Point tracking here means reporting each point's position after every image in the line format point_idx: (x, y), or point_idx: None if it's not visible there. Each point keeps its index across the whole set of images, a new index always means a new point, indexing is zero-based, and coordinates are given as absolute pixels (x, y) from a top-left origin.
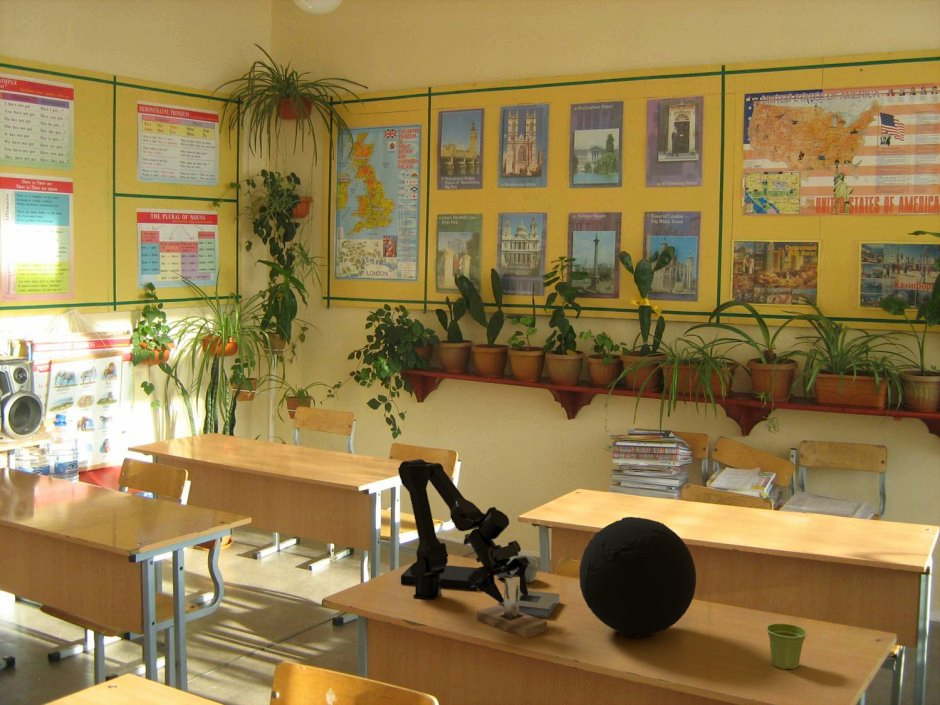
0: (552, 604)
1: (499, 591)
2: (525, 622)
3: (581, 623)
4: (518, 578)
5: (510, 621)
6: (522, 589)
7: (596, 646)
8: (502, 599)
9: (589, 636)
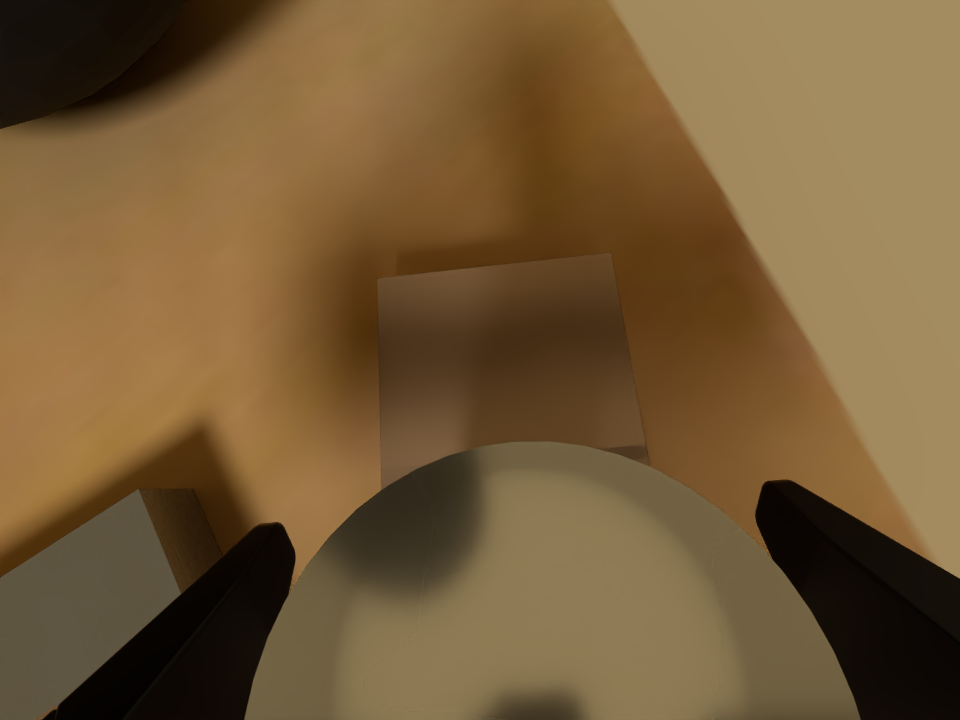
0: (4, 579)
1: (911, 600)
2: (529, 349)
3: (134, 284)
4: (467, 450)
5: (619, 440)
6: (248, 642)
7: (368, 15)
8: (801, 493)
9: (281, 119)
